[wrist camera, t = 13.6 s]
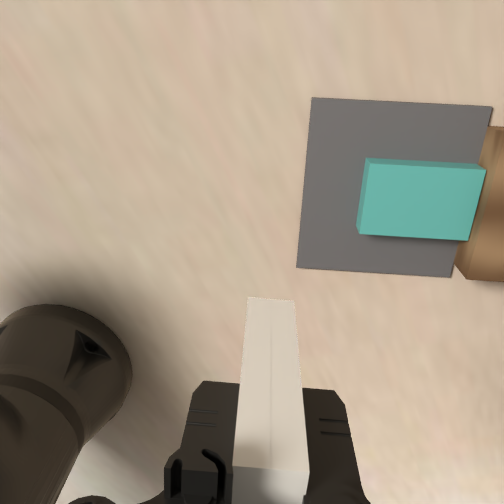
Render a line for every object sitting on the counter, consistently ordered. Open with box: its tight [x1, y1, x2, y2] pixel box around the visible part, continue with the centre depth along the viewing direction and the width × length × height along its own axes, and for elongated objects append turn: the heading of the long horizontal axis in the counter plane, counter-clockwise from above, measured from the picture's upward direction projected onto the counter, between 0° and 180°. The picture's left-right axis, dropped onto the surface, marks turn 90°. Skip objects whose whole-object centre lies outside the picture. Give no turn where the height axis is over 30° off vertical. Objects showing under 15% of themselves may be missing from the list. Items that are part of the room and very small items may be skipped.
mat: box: [296, 97, 492, 277], centre depth 39 cm, size 15×14×1 cm
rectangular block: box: [356, 158, 486, 241], centre depth 38 cm, size 6×9×2 cm, turn 88°
